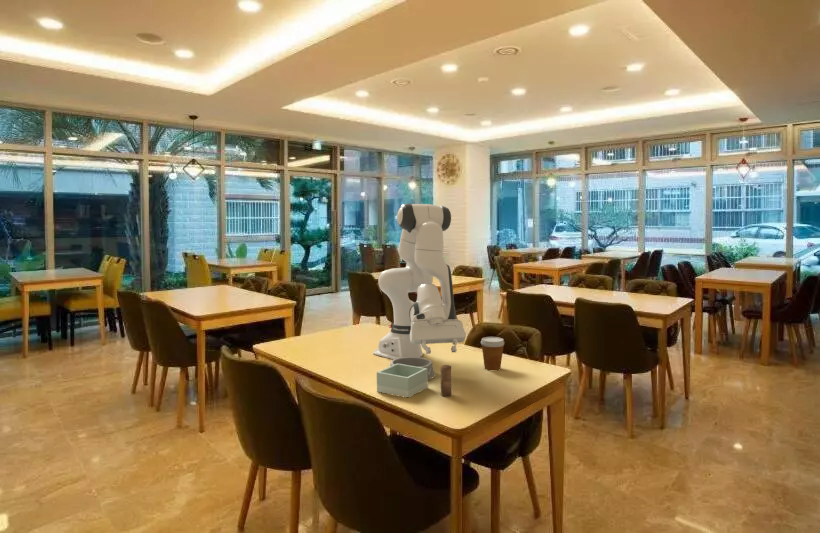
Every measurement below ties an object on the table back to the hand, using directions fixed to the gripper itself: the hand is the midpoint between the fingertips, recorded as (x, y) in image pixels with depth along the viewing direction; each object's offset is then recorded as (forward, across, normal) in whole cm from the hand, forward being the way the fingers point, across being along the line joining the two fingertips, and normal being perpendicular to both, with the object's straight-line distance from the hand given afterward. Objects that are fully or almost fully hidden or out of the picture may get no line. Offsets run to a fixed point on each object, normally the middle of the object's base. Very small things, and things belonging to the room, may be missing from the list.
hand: (441, 352), depth 185 cm
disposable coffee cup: (-5, -27, -23) cm, 36 cm away
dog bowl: (-5, +6, -24) cm, 25 cm away
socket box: (+7, +13, -12) cm, 19 cm away
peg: (+14, 0, -6) cm, 15 cm away
